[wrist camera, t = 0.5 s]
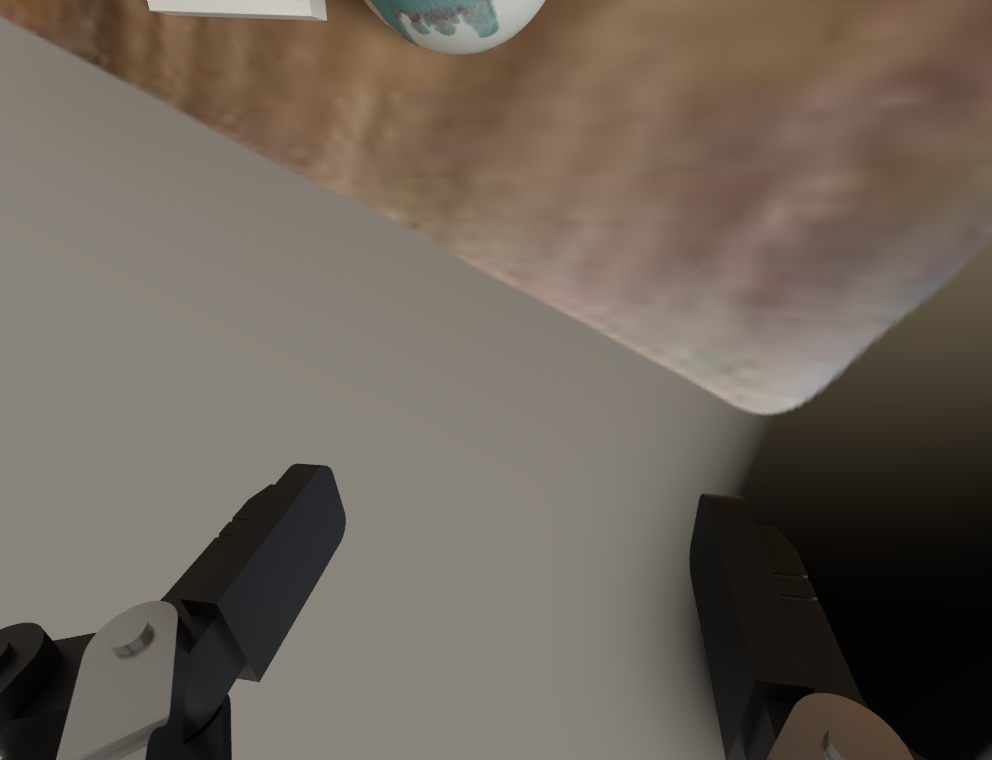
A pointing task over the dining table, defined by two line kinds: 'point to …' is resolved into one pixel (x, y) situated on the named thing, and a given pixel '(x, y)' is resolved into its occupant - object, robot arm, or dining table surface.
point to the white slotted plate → (243, 8)
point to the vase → (456, 22)
